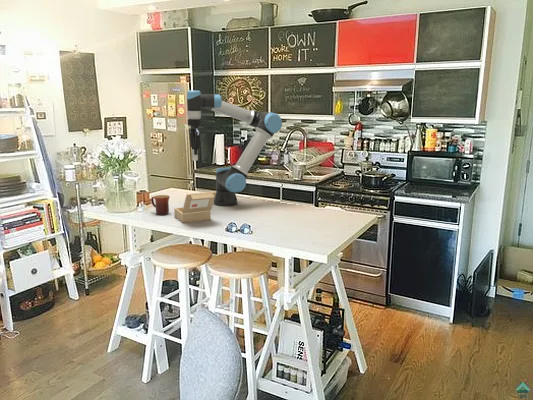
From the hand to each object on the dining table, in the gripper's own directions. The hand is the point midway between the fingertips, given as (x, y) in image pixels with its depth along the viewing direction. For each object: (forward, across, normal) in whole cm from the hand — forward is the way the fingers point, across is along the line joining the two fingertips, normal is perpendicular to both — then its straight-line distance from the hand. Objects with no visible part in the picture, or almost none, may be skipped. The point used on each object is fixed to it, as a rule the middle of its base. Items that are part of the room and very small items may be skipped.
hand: (195, 160), depth 257 cm
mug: (+31, -5, -20) cm, 37 cm away
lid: (+19, +24, -7) cm, 31 cm away
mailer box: (+30, +13, -7) cm, 34 cm away
